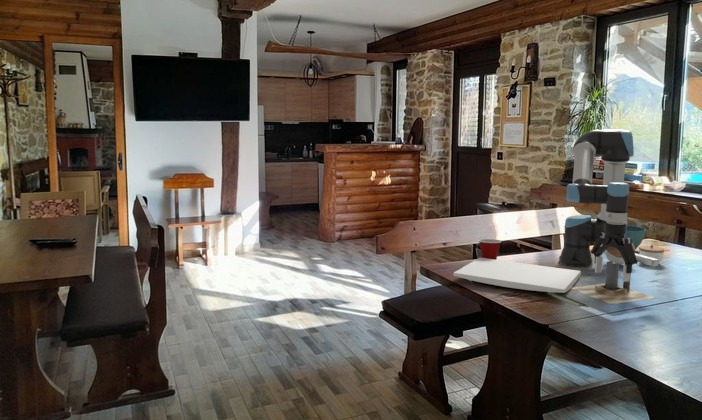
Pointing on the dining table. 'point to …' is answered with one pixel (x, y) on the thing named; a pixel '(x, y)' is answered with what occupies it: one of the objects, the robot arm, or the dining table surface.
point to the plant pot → (635, 234)
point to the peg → (612, 275)
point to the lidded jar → (652, 252)
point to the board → (519, 275)
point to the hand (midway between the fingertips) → (611, 276)
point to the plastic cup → (489, 248)
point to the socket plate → (612, 293)
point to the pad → (568, 300)
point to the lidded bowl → (615, 255)
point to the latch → (647, 260)
